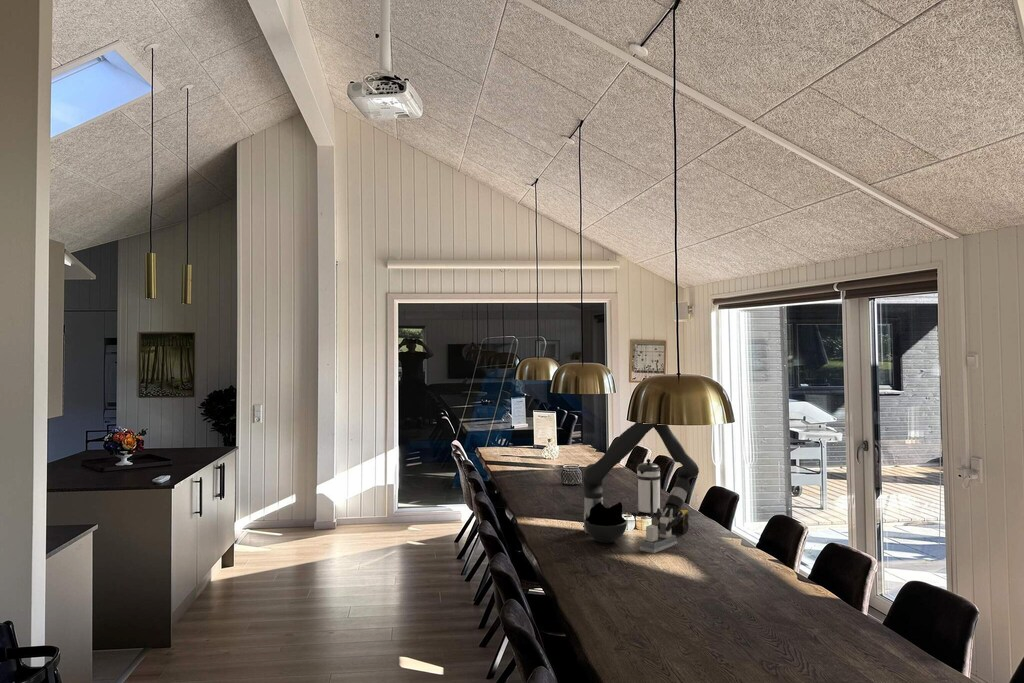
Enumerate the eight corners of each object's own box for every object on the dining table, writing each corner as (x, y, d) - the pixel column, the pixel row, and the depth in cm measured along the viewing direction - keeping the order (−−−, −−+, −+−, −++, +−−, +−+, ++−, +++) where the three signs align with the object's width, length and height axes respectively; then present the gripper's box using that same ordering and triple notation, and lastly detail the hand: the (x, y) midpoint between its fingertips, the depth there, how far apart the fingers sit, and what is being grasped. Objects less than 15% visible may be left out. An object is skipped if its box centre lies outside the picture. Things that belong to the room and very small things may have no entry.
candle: (663, 532, 340) (663, 512, 341) (668, 527, 349) (668, 508, 350) (684, 535, 336) (683, 514, 336) (689, 530, 345) (688, 510, 345)
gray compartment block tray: (653, 553, 306) (653, 529, 306) (639, 550, 311) (639, 526, 311) (677, 543, 320) (677, 521, 320) (663, 541, 325) (663, 518, 325)
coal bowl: (577, 544, 320) (577, 504, 320) (593, 534, 337) (593, 495, 337) (619, 550, 310) (618, 508, 310) (632, 539, 328) (632, 499, 328)
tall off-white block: (666, 539, 316) (666, 519, 317) (659, 537, 319) (659, 518, 319) (671, 537, 320) (671, 517, 320) (664, 535, 322) (664, 516, 322)
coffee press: (667, 516, 372) (666, 461, 372) (637, 516, 372) (637, 461, 372) (660, 509, 389) (660, 456, 389) (632, 509, 389) (632, 456, 390)
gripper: (660, 492, 330) (646, 522, 321) (686, 496, 320) (673, 527, 311) (666, 501, 334) (652, 531, 325) (692, 505, 324) (679, 537, 315)
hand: (663, 529), depth 318 cm, fingers closed on tall off-white block, 3 cm apart
